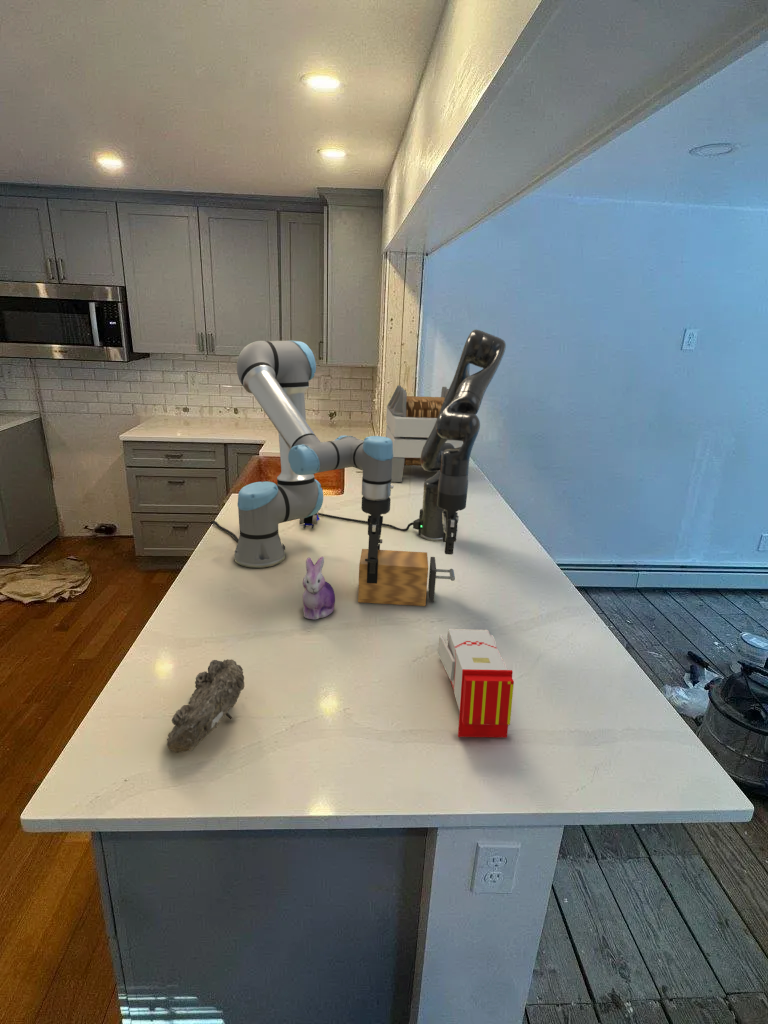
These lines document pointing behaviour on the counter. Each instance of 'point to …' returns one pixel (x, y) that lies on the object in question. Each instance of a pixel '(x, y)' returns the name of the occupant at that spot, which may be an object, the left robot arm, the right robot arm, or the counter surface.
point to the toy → (478, 682)
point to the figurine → (317, 592)
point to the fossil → (206, 705)
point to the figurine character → (309, 521)
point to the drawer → (433, 577)
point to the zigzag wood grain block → (395, 578)
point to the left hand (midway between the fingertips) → (373, 573)
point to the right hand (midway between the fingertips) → (447, 547)
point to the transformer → (411, 427)
